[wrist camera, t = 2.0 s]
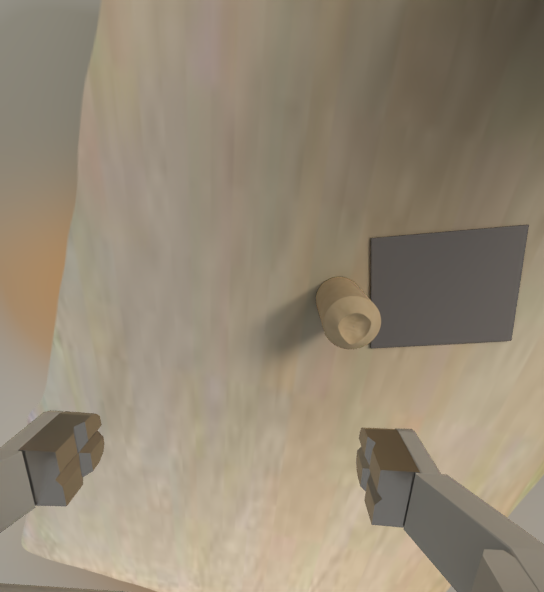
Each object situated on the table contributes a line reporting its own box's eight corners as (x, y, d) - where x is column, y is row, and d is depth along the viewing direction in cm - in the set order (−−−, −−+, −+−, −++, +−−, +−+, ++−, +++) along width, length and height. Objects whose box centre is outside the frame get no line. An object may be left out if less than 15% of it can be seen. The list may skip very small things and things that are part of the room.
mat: (526, 224, 32) (528, 224, 32) (509, 339, 36) (511, 340, 36) (370, 238, 34) (371, 238, 33) (370, 347, 37) (371, 348, 37)
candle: (350, 324, 37) (371, 363, 27) (309, 310, 37) (316, 346, 27) (367, 284, 35) (396, 311, 26) (324, 270, 35) (337, 292, 25)
